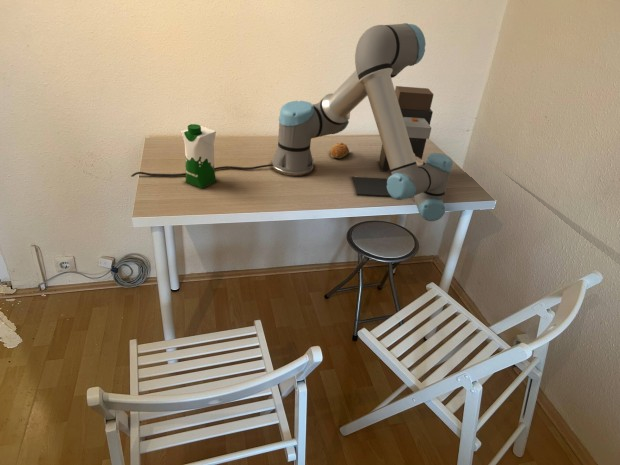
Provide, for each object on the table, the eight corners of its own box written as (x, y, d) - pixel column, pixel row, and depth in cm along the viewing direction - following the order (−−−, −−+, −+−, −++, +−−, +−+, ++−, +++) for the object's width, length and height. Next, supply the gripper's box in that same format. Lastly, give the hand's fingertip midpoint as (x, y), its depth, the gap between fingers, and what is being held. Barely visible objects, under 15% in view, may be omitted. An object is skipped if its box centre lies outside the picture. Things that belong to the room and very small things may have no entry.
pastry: (343, 161, 184) (344, 152, 182) (326, 157, 185) (327, 148, 183) (349, 152, 191) (350, 143, 189) (333, 149, 193) (334, 140, 191)
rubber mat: (394, 197, 162) (394, 195, 162) (357, 195, 161) (357, 193, 161) (387, 180, 173) (387, 178, 173) (352, 178, 172) (352, 176, 172)
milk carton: (181, 182, 157) (178, 124, 147) (200, 173, 164) (198, 117, 153) (202, 190, 154) (199, 132, 143) (220, 181, 161) (219, 124, 150)
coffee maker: (424, 184, 173) (444, 103, 156) (387, 182, 171) (403, 100, 155) (413, 164, 187) (430, 88, 171) (378, 162, 186) (392, 85, 170)
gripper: (387, 197, 156) (375, 167, 175) (450, 200, 158) (432, 170, 177) (391, 176, 152) (379, 148, 171) (456, 180, 154) (436, 152, 172)
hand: (406, 159), depth 174 cm, fingers closed on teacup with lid, 9 cm apart
